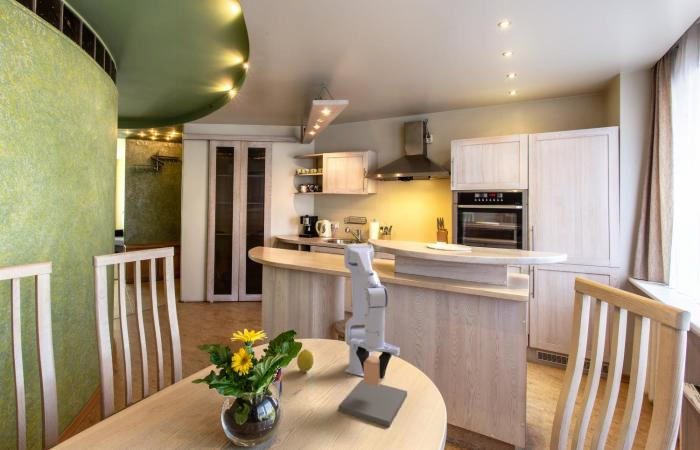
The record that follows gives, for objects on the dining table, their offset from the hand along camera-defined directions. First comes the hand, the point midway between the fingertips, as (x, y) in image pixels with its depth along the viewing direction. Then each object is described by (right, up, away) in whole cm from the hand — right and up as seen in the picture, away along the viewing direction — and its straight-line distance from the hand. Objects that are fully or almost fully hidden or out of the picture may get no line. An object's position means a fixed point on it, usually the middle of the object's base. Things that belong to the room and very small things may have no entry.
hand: (374, 375), depth 96 cm
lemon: (-22, -8, +18) cm, 30 cm away
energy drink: (-30, -8, +4) cm, 32 cm away
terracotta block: (0, -2, 0) cm, 2 cm away
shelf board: (0, -8, 0) cm, 8 cm away
